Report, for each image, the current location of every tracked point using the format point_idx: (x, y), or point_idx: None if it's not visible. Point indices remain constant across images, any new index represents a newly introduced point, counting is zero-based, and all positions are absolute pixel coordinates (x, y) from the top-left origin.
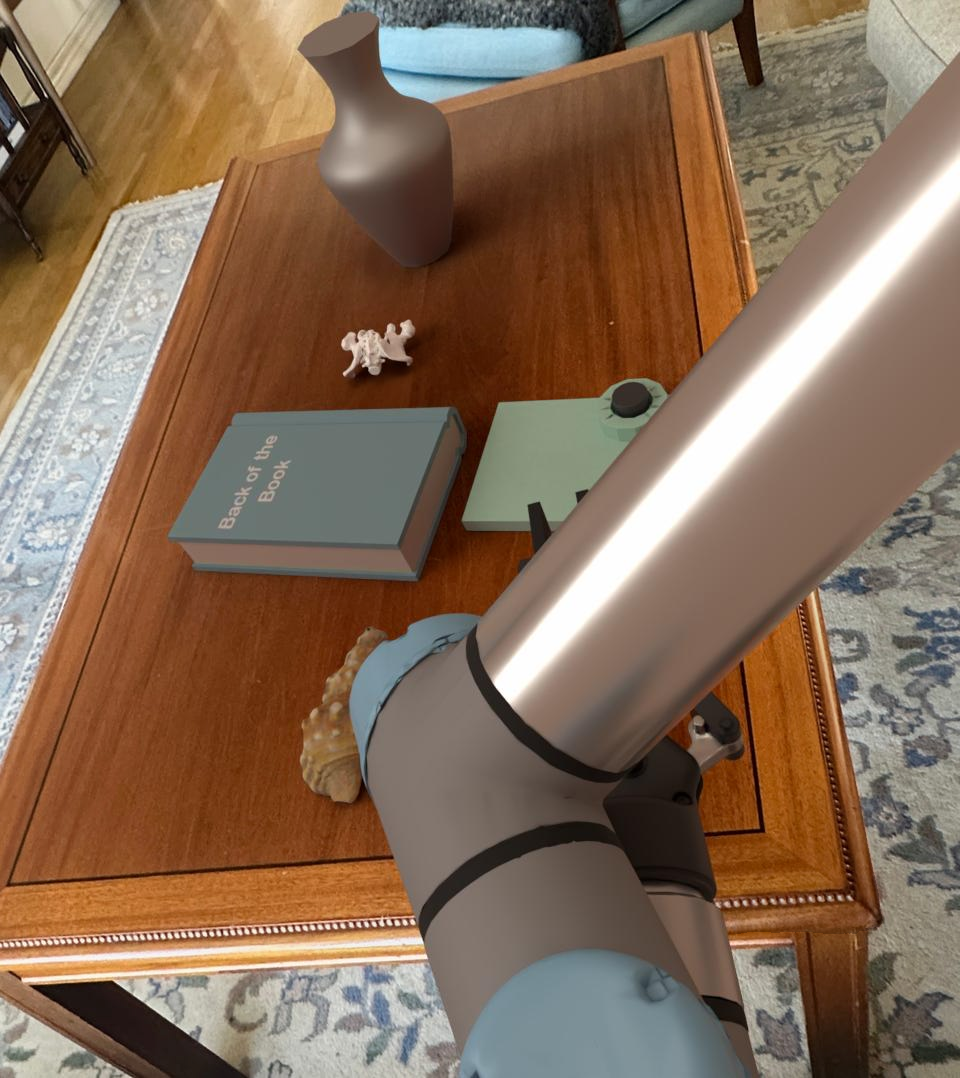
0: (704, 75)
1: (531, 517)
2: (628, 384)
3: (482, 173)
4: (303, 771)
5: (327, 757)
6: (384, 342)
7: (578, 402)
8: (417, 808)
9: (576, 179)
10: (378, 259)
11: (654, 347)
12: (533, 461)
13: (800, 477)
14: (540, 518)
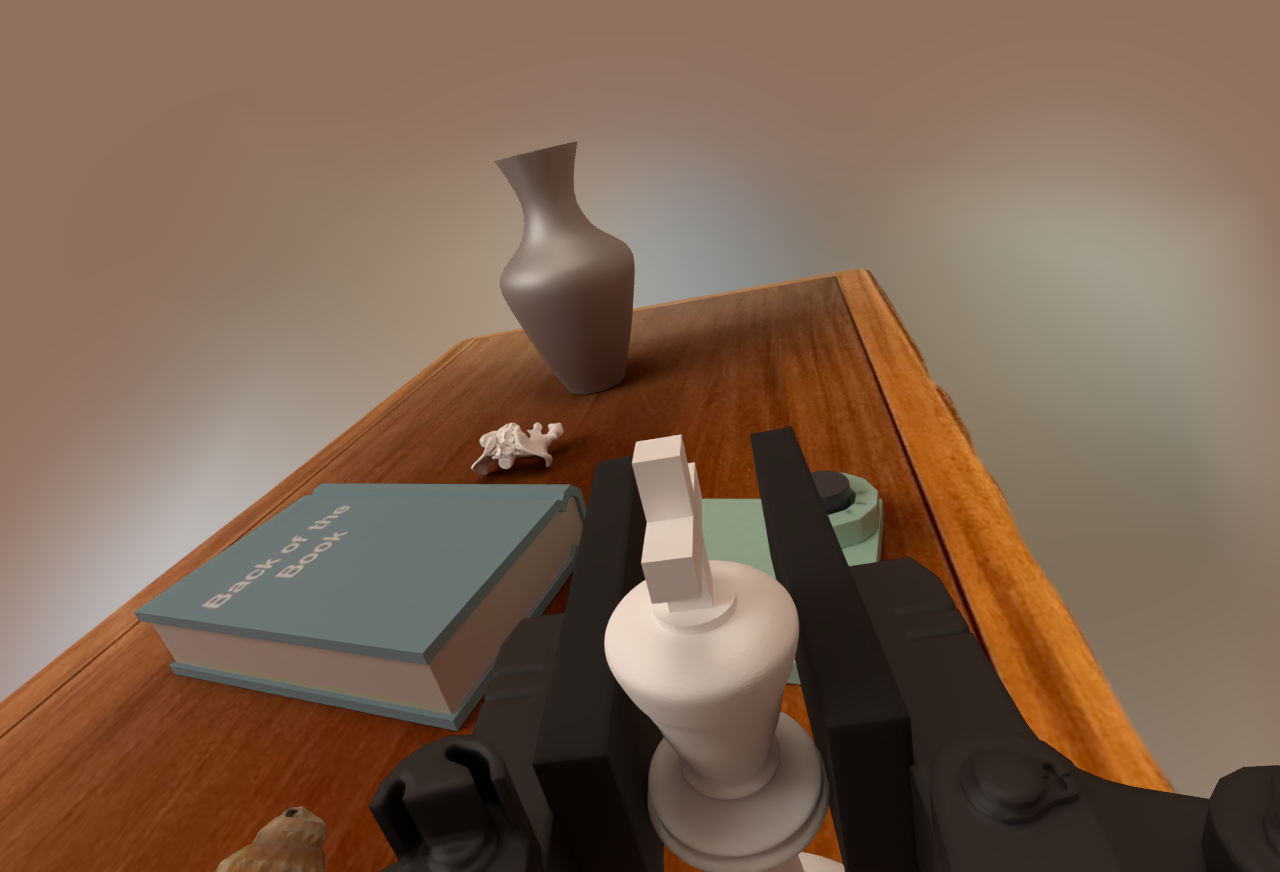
0: (876, 282)
1: (598, 488)
2: (820, 473)
3: (665, 338)
4: None
5: None
6: (523, 434)
7: (745, 502)
8: None
9: (754, 339)
10: (550, 389)
11: (846, 458)
12: None
13: None
14: (626, 491)
